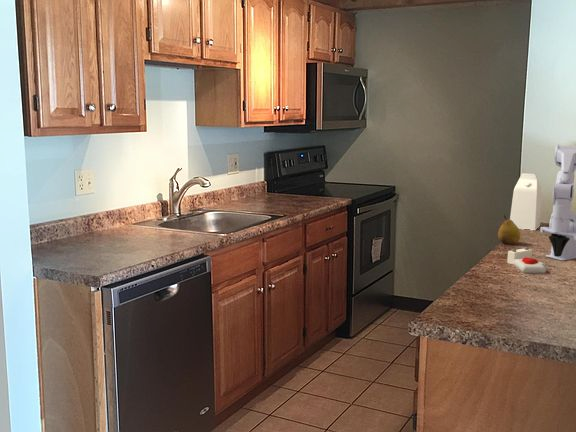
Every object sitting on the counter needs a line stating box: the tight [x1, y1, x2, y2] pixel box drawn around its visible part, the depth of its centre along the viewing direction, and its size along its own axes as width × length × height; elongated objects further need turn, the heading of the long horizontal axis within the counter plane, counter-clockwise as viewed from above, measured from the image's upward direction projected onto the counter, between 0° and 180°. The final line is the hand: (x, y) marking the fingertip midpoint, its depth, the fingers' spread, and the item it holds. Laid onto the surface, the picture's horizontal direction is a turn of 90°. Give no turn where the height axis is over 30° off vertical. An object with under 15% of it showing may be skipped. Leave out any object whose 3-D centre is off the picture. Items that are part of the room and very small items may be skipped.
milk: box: [509, 172, 542, 231], centre depth 307 cm, size 12×12×26 cm
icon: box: [513, 257, 547, 274], centre depth 232 cm, size 12×4×10 cm
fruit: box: [497, 215, 521, 245], centre depth 273 cm, size 9×9×12 cm
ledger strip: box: [506, 246, 533, 266], centre depth 242 cm, size 10×3×5 cm, turn 121°
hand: (557, 256), depth 225 cm, fingers closed
